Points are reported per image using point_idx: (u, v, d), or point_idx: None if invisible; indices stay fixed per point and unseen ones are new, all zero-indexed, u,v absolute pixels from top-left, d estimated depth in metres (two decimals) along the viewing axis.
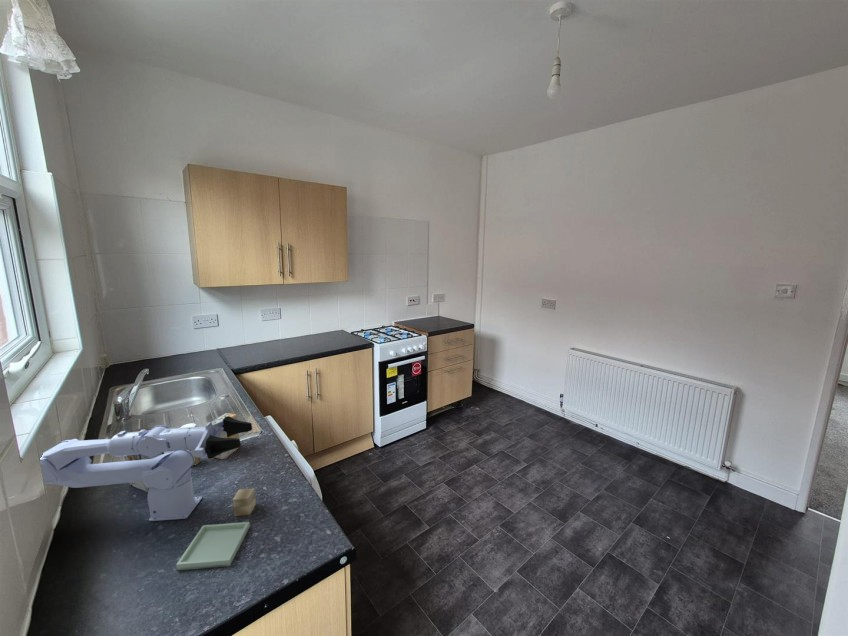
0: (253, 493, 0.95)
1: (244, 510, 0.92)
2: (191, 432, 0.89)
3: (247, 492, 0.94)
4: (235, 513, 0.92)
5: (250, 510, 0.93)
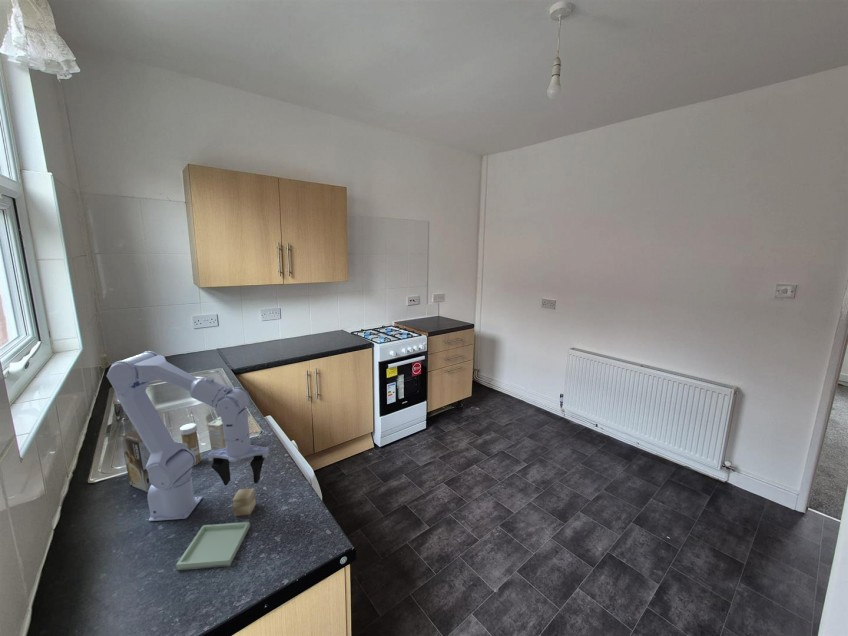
0: (253, 493, 0.95)
1: (244, 510, 0.92)
2: (227, 444, 0.88)
3: (247, 492, 0.94)
4: (235, 513, 0.92)
5: (250, 510, 0.93)
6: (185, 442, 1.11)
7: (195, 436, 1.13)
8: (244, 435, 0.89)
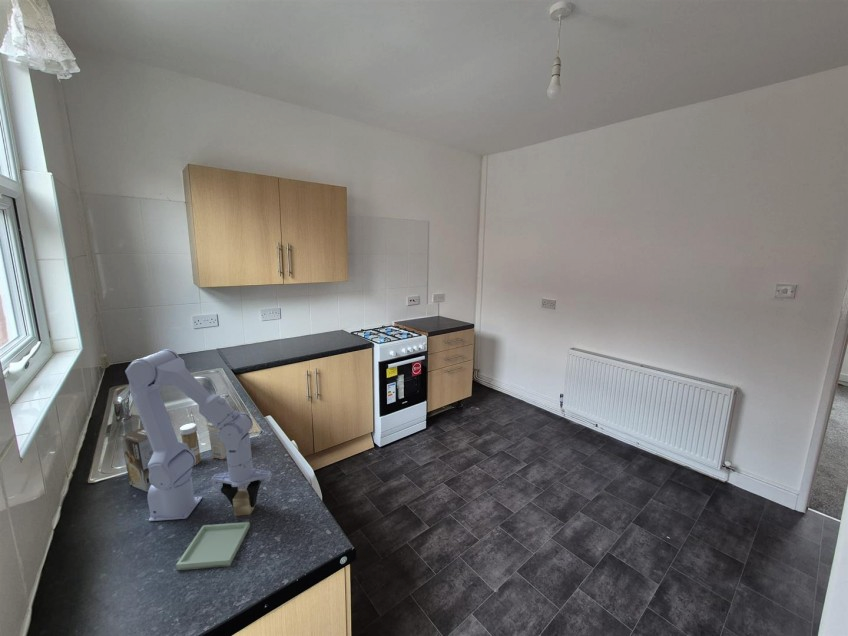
0: None
1: (244, 510, 0.92)
2: (230, 469, 0.89)
3: (247, 492, 0.94)
4: (235, 513, 0.92)
5: (250, 510, 0.93)
6: (185, 442, 1.11)
7: (195, 436, 1.13)
8: (247, 460, 0.90)
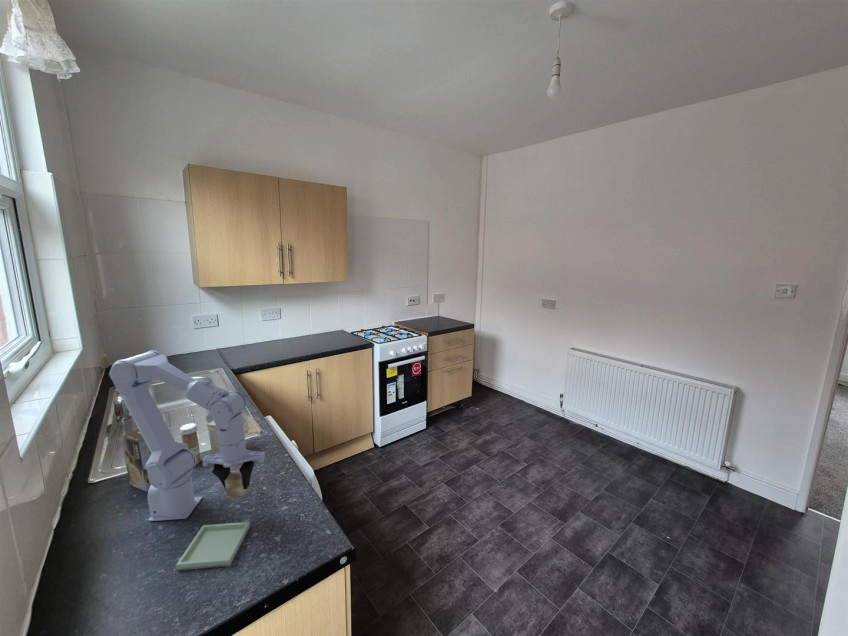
0: None
1: (237, 492, 0.89)
2: (222, 449, 0.86)
3: (240, 473, 0.90)
4: (227, 495, 0.88)
5: (243, 492, 0.89)
6: (185, 442, 1.11)
7: (195, 436, 1.13)
8: (238, 440, 0.86)
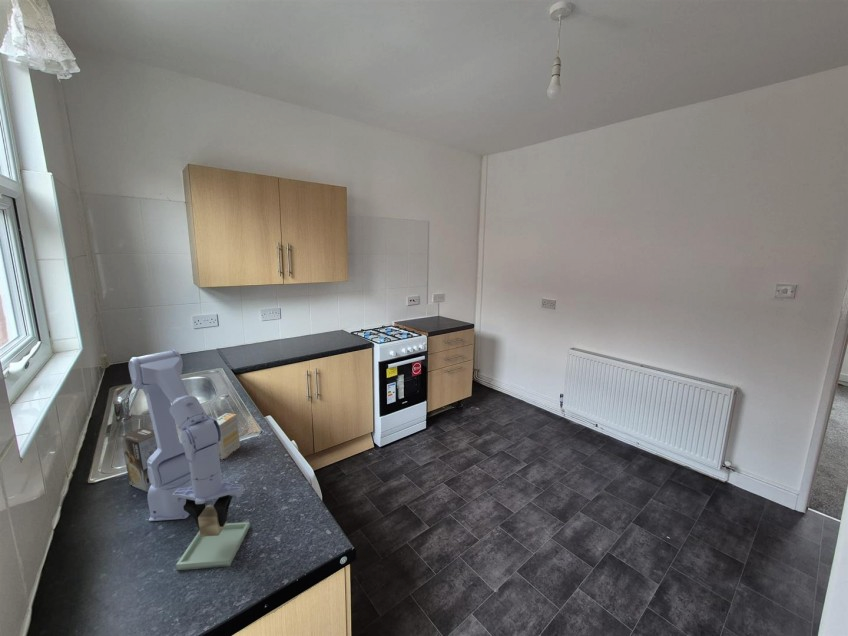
0: None
1: (212, 530, 0.79)
2: (194, 483, 0.76)
3: None
4: (201, 533, 0.79)
5: (219, 530, 0.80)
6: None
7: None
8: (205, 476, 0.76)
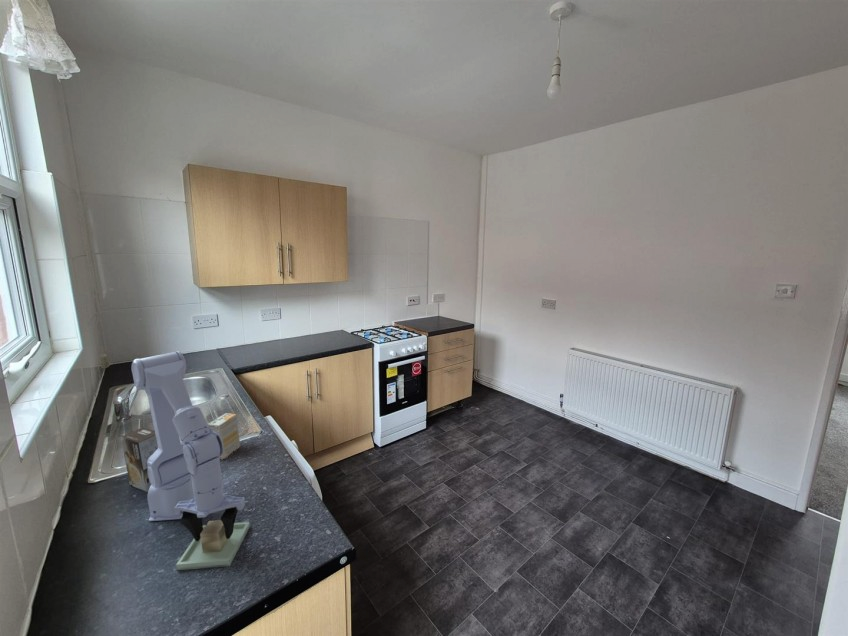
0: None
1: (214, 546, 0.80)
2: (196, 497, 0.77)
3: (218, 524, 0.82)
4: (203, 549, 0.80)
5: (221, 546, 0.81)
6: None
7: None
8: (207, 490, 0.77)
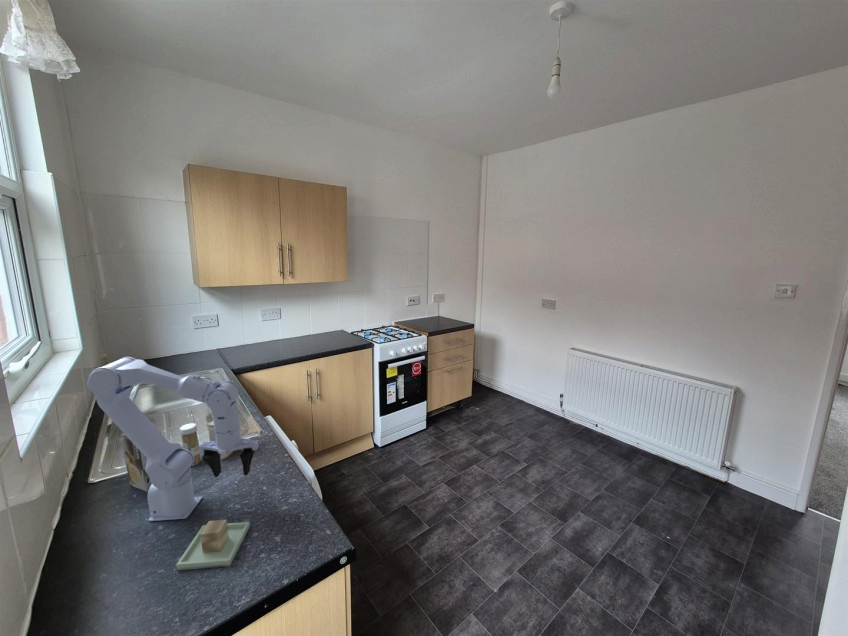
0: (225, 525, 0.83)
1: (214, 546, 0.80)
2: (217, 436, 0.90)
3: (218, 524, 0.82)
4: (203, 549, 0.80)
5: (221, 546, 0.81)
6: (185, 442, 1.11)
7: (195, 436, 1.13)
8: (235, 427, 0.91)
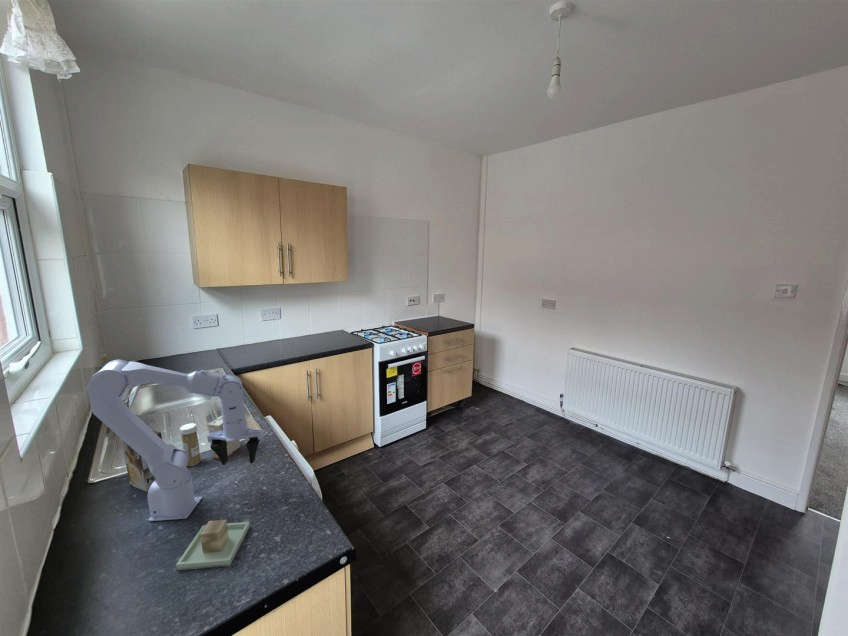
0: (225, 525, 0.83)
1: (214, 546, 0.80)
2: (225, 426, 0.95)
3: (218, 524, 0.82)
4: (203, 549, 0.80)
5: (221, 546, 0.81)
6: (185, 442, 1.11)
7: (195, 436, 1.13)
8: (244, 416, 0.97)
